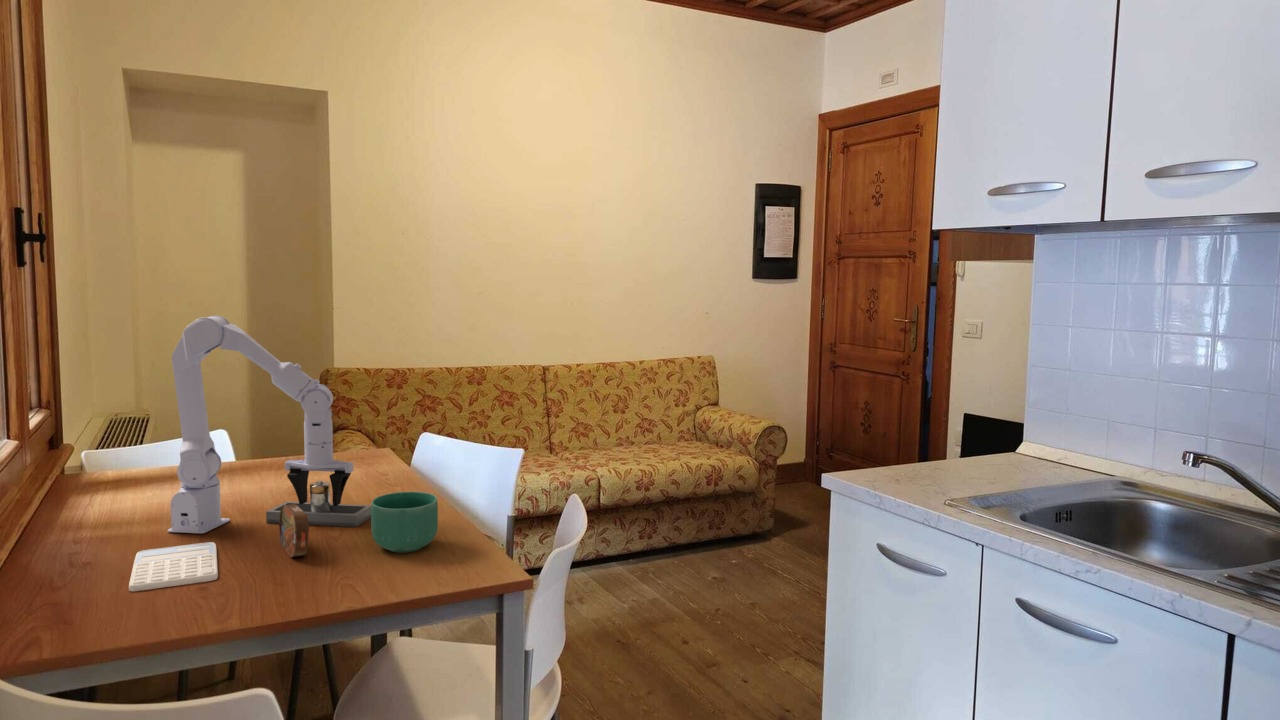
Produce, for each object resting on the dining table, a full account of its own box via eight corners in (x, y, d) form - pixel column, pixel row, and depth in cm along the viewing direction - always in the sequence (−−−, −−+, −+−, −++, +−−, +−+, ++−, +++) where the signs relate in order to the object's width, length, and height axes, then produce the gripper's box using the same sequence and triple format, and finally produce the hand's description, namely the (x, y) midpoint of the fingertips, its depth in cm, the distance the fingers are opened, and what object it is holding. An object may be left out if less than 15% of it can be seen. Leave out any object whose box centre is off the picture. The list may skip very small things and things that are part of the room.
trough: (356, 527, 175) (356, 515, 175) (266, 522, 177) (266, 511, 177) (372, 516, 183) (372, 505, 183) (286, 512, 185) (286, 501, 185)
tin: (278, 541, 165) (277, 500, 164) (295, 539, 167) (294, 498, 166) (293, 563, 153) (292, 518, 152) (312, 560, 154) (310, 516, 154)
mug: (443, 553, 160) (442, 504, 159) (374, 560, 155) (374, 511, 154) (429, 529, 175) (429, 484, 174) (366, 535, 170) (366, 489, 169)
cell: (326, 518, 178) (325, 484, 177) (307, 518, 178) (306, 483, 178) (333, 513, 182) (333, 479, 181) (315, 512, 182) (314, 478, 182)
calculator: (128, 595, 138) (127, 584, 137) (136, 559, 155) (136, 549, 155) (218, 582, 144) (217, 572, 144) (216, 549, 161) (216, 539, 161)
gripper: (359, 439, 182) (360, 500, 183) (296, 437, 183) (297, 497, 184) (344, 445, 175) (345, 509, 176) (278, 443, 176) (280, 506, 177)
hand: (320, 503), depth 180 cm, fingers open, 7 cm apart
